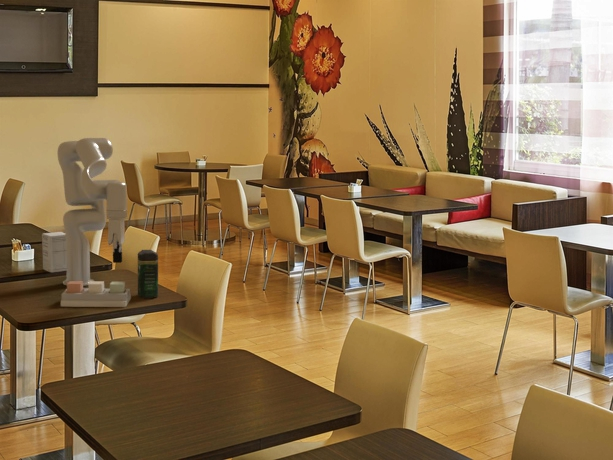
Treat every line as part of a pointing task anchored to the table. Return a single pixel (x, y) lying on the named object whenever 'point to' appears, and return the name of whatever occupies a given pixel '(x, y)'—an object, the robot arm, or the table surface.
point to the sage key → (117, 287)
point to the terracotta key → (74, 286)
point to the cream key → (96, 287)
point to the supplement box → (54, 251)
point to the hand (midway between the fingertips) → (117, 262)
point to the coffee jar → (147, 274)
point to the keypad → (96, 299)
